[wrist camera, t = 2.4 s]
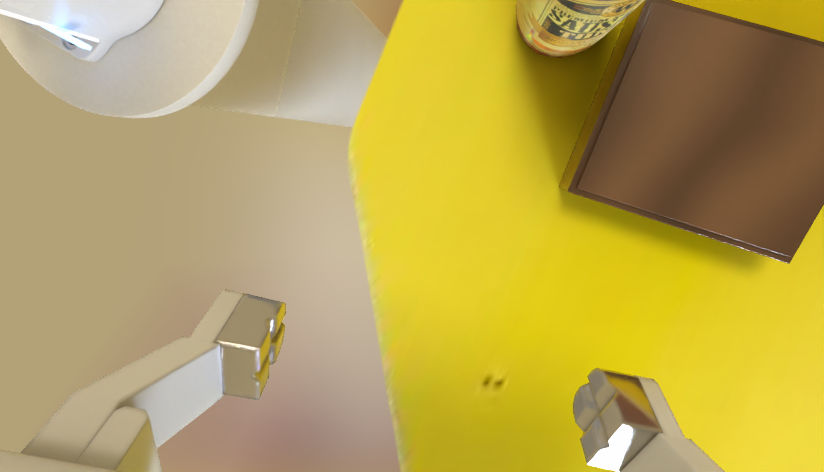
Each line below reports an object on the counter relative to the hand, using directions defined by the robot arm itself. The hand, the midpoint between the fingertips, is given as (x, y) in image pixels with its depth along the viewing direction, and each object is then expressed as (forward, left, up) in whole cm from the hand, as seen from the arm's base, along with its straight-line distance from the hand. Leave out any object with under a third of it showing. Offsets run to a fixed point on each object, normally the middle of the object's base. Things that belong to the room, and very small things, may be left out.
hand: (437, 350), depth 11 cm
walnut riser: (+12, +10, -22) cm, 27 cm away
